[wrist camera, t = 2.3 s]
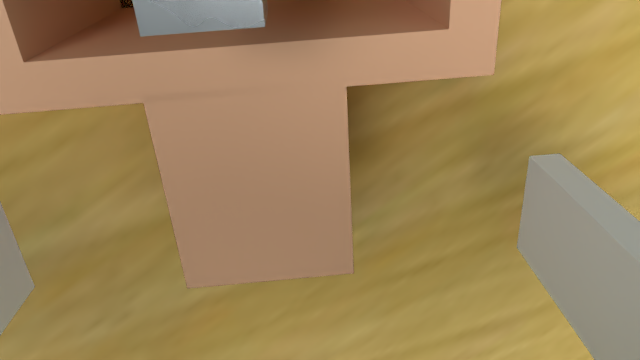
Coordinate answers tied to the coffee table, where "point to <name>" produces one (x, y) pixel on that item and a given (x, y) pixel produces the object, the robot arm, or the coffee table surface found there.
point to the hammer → (198, 15)
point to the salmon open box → (244, 111)
